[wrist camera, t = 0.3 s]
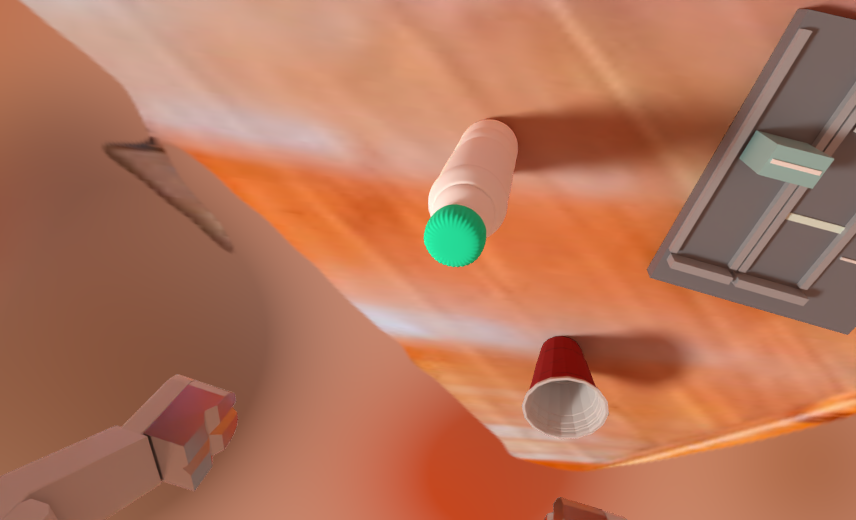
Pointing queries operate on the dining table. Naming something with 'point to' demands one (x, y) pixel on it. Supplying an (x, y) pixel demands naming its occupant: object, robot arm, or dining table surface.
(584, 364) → the plastic cup
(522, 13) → the dining table surface
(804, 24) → the console
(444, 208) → the water bottle
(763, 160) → the fader
